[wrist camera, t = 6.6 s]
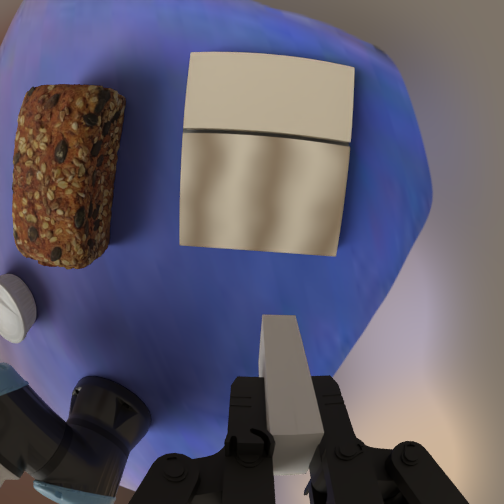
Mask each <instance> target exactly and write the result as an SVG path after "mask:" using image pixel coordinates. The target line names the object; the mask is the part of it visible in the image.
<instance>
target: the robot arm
mask: <svg viewBox="0 0 504 504" xmlns="http://www.w3.org/2000/svg"><path fill="white" fill-rule="evenodd" d="M28 384H29V383H28V382H27V381H25V380H24V379H23V378H22V377H21V376H20V375H19V374H18V373H17V372H16V371H15V369H14V368H13V367H12V366H11V365H9V364H7V363H0V487H1V485H2V484H3V482H4V480H6V479H19V478H20V477H21V475H22V474H23V472H24V471H26V472H28V474H30V475H31V476H33V477H34V478H35V480H34V481H33V483H34V488H35V489H36V490H37V491H39V492H40V493H41V494H43V495H44V496H46V497H48V498H49V499H51V500H53V501H55V502H57V503H59V504H113V503H114V501H115V500H116V498H115V497H116V493H117V490H118V487H119V484H120V481H121V478H122V474H123V471H124V468H125V465H126V462H127V459H128V456H129V453H130V451H131V450H132V449H133V448H134V447H135V446H136V445H137V444H138V442H139V441H140V440H141V439H142V438H143V437H144V436H145V435H146V433H147V432H148V429H149V426H150V423H151V415H150V412H149V410H148V409H147V407H146V406H145V404H144V403H143V402H142V401H141V400H140V399H139V398H138V397H137V396H136V395H134V394H133V393H132V392H130V391H129V390H128V389H126V388H124V387H123V386H121V385H119V384H117V383H115V382H113V381H110V380H107V379H104V378H100V377H92V376H91V377H85V378H82V379H81V380H80V381H79V382H78V383H77V385H76V386H75V388H74V390H73V393H72V398H71V405H70V411H69V417H68V420H67V422H65V421H64V420H63V419H62V418H61V417H60V416H58V415H57V414H56V413H55V412H54V411H53V410H52V409H51V408H50V407H49V406H48V405H47V404H46V403H45V402H44V401H43V400H42V399H41V398H40V397H39V396H38V395H37V394H36V392H35V391H34V390H33V389H32V388H31V387H30V386H29V385H28ZM224 444H225V445H224V447H223V448H222V449H221V450H220V451H219V452H218V453H216V454H214V455H211V456H208V457H202V458H196V459H191V458H189V457H187V456H186V455H183V454H178V453H171V454H165V455H163V456H161V457H159V458H158V459H157V460H156V461H155V462H154V463H153V464H152V466H151V468H150V469H149V471H148V473H147V474H146V476H145V477H144V479H143V481H142V482H141V484H140V486H139V487H138V489H137V490H136V492H135V494H134V495H133V497H132V499H131V500H130V502H129V504H275V489H274V475H295V474H306V473H307V471H308V469H310V476H311V479H310V481H309V483H308V485H307V486H306V488H305V490H304V495H307V494H308V492H309V498H310V504H469V503H468V501H467V500H466V499H465V498H464V496H463V495H462V494H461V493H460V491H459V490H458V489H457V488H456V486H455V485H454V484H453V483H452V481H451V480H450V479H449V478H448V476H447V475H446V474H445V473H444V471H443V470H442V469H441V468H440V467H439V465H438V464H437V463H436V461H435V460H434V459H433V458H432V456H431V455H430V454H429V453H428V451H427V450H426V449H425V448H424V447H423V446H422V445H421V444H419V443H416V442H414V441H405V442H402V443H400V444H398V445H397V446H395V448H394V449H393V450H392V449H380V448H373V447H369V446H366V445H365V444H364V443H363V442H362V441H361V440H359V439H358V438H356V436H355V434H354V431H353V428H352V425H351V422H350V419H349V416H348V412H347V409H346V406H345V404H344V400H343V397H342V396H341V392H340V388H339V386H338V384H337V382H336V381H335V380H334V379H333V378H332V377H331V376H330V375H329V376H311V375H310V371H309V367H308V363H307V359H306V355H305V351H304V347H303V343H302V339H301V335H300V331H299V328H298V324H297V320H296V316H295V315H262V325H261V338H260V350H259V377H241V376H237V378H236V379H235V381H234V382H233V383H232V385H231V393H230V407H229V420H228V433H227V436H226V439H225V442H224Z"/></svg>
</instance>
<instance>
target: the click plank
mask: <svg viewBox="0 0 504 504" xmlns="http://www.w3.org/2000/svg"><path fill="white" fill-rule="evenodd" d="M349 155H350V147H347V146H341V145H335V144H328V143H321V142H314V141H306V140H298V139H289V138H279V137H268V136H255V135H240V134H218V133H183V139H182V157H181V181H180V245H183V246H197V247H211V248H226V249H240V250H254V251H268V252H282V253H295V254H309V255H323V256H336V252H337V246H338V240H339V234H340V228H341V221H342V214H343V207H344V199H345V191H346V183H347V174H348V165H349Z"/></svg>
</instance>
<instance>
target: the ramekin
mask: <svg viewBox="0 0 504 504" xmlns="http://www.w3.org/2000/svg"><path fill="white" fill-rule="evenodd" d="M35 320H36V304H35V301H34V298H33V295H32V293H31V291H30V290H29V288H28V287H27V285H26V284H25V283H24V282H23V281H22V280H21V279H20V278H19V277H17V276H15V275H13V274H4V275H1V276H0V335H2V336H3V337H4V338H5V339H7V340H8V341H10V342H12V343H20V342H21V341H22V340H24V338H25V337H26V335H27V332H28V331H29V330H30V328H31V327H32V325H33V324H34V322H35Z"/></svg>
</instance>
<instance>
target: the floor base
mask: <svg viewBox="0 0 504 504" xmlns="http://www.w3.org/2000/svg"><path fill="white" fill-rule="evenodd" d="M353 98H354V67H350V66H345V65H341V64H336V63H331V62H325V61H319V60H313V59H307V58H300V57H292V56H283V55H273V54H261V53H244V52H191V55H190V63H189V71H188V80H187V90H186V100H185V112H184V125H183V133H218V134H240V135H255V136H268V137H279V138H289V139H298V140H306V141H314V142H321V143H328V144H335V145H341V146H347V147H349V142H351V131H352V116H353Z"/></svg>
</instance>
